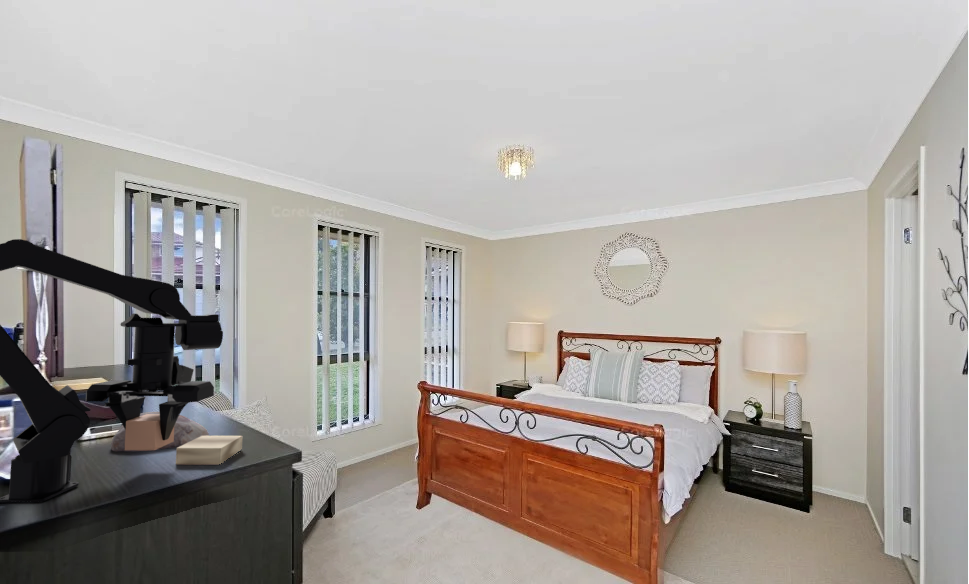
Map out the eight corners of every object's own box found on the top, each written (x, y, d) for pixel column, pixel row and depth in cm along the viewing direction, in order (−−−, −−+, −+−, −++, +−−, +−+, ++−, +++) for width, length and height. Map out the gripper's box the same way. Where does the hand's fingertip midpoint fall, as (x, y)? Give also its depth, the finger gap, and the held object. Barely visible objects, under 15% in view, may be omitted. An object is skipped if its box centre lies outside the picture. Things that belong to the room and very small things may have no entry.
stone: (208, 464, 97) (214, 424, 104) (205, 440, 91) (211, 400, 98) (112, 474, 90) (125, 431, 97) (101, 450, 84) (116, 405, 91)
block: (154, 450, 76) (155, 421, 76) (124, 450, 75) (126, 421, 76) (173, 441, 81) (174, 414, 81) (145, 441, 80) (146, 413, 81)
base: (220, 464, 81) (220, 448, 81) (175, 464, 81) (176, 448, 81) (241, 450, 89) (242, 435, 89) (201, 450, 89) (202, 435, 89)
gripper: (231, 348, 87) (228, 427, 86) (134, 347, 86) (130, 427, 86) (197, 354, 76) (193, 445, 75) (85, 353, 75) (80, 444, 74)
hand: (150, 439), depth 78 cm, fingers closed on block, 5 cm apart
